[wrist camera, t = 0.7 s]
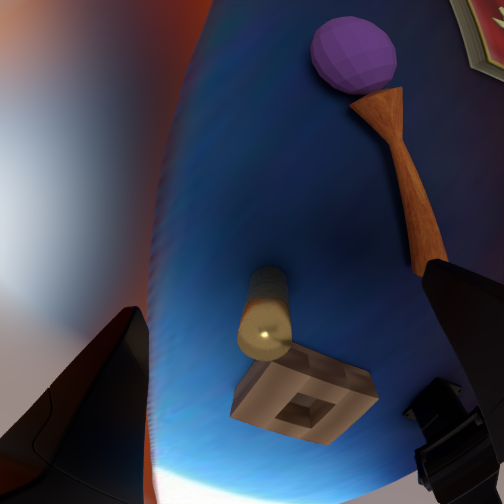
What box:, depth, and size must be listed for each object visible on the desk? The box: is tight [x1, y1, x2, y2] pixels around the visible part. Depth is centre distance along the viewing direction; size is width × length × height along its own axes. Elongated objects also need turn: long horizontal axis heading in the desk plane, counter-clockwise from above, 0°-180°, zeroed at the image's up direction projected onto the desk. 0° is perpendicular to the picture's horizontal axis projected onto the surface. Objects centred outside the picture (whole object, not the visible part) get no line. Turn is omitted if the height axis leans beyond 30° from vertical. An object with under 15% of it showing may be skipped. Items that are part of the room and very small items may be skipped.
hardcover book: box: [450, 0, 504, 82], centre depth 10 cm, size 12×21×4 cm, turn 2°
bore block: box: [230, 342, 379, 445], centre depth 23 cm, size 11×8×4 cm
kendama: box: [310, 16, 448, 277], centre depth 17 cm, size 6×6×20 cm
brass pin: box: [237, 266, 292, 361], centre depth 19 cm, size 3×3×8 cm
